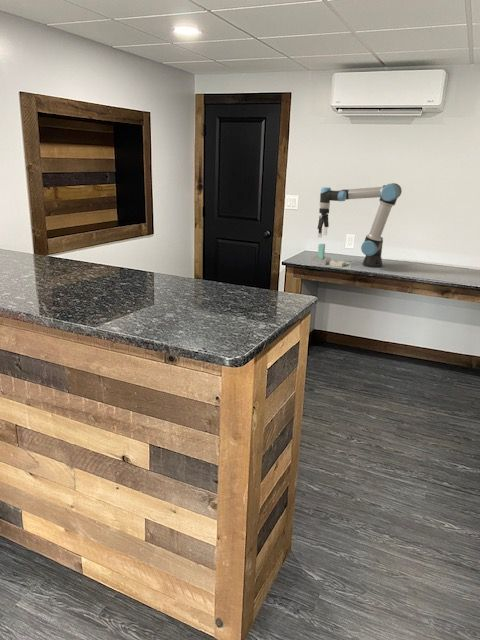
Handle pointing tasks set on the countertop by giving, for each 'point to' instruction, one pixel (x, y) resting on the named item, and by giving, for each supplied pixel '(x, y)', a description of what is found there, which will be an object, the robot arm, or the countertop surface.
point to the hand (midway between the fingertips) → (322, 236)
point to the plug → (321, 251)
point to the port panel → (320, 260)
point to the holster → (337, 263)
